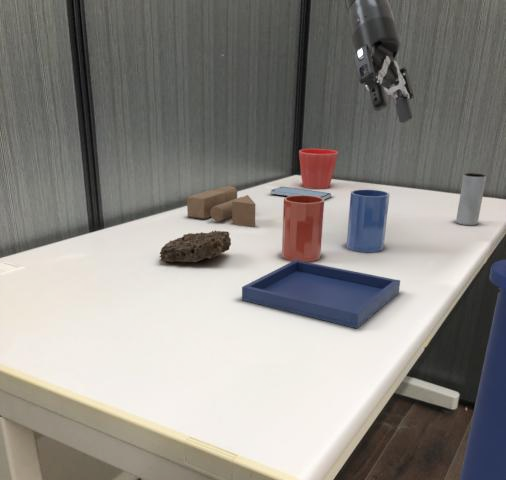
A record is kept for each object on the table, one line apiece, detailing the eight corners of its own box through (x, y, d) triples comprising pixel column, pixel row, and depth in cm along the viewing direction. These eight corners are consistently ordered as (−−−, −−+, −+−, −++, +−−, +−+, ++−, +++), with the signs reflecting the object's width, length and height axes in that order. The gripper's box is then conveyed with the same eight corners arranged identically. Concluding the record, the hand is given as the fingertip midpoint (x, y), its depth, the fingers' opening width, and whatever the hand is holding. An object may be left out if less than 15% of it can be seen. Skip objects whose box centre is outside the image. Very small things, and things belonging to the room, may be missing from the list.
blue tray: (398, 293, 85) (400, 280, 84) (356, 328, 73) (358, 314, 72) (294, 271, 93) (295, 259, 92) (241, 300, 81) (241, 286, 80)
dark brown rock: (237, 254, 101) (237, 226, 99) (218, 271, 93) (217, 241, 91) (177, 248, 104) (176, 220, 102) (153, 264, 96) (151, 234, 93)
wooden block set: (183, 192, 123) (225, 180, 138) (184, 218, 126) (225, 204, 140) (252, 200, 116) (289, 187, 131) (252, 228, 119) (288, 211, 133)
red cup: (327, 254, 102) (331, 198, 98) (309, 264, 97) (312, 205, 92) (293, 248, 105) (296, 193, 101) (274, 257, 100) (276, 200, 96)
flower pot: (341, 189, 160) (344, 152, 156) (304, 190, 157) (306, 153, 153) (327, 182, 169) (329, 148, 165) (292, 183, 167) (293, 148, 162)
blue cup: (388, 245, 108) (394, 192, 103) (375, 254, 102) (381, 198, 98) (355, 240, 111) (359, 188, 107) (340, 248, 106) (344, 193, 102)
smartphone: (321, 198, 144) (269, 190, 150) (320, 202, 144) (269, 194, 151) (332, 193, 149) (282, 186, 156) (332, 197, 150) (282, 189, 156)
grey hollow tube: (469, 220, 128) (477, 172, 123) (481, 224, 124) (490, 176, 119) (451, 221, 127) (459, 173, 122) (463, 226, 123) (472, 176, 118)
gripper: (369, 1, 93) (391, 92, 91) (411, 31, 103) (433, 114, 101) (332, 28, 98) (353, 116, 96) (376, 54, 108) (396, 134, 106)
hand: (394, 114), depth 98 cm, fingers open, 8 cm apart
